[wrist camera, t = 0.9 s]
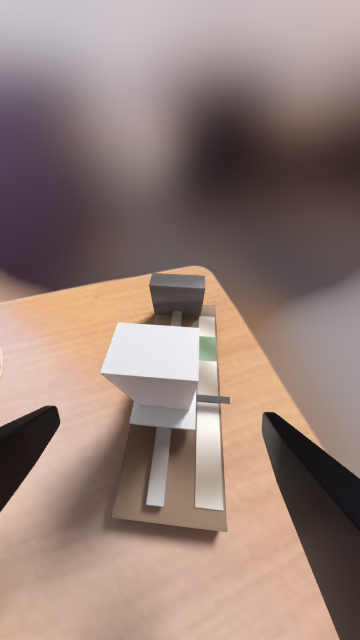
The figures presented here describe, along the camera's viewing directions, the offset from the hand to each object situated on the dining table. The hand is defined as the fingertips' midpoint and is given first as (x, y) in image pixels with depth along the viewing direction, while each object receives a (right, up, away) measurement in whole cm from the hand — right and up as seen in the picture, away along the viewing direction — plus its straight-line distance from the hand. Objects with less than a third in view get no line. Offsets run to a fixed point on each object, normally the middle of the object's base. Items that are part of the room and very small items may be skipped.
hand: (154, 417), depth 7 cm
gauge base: (+1, -3, +11) cm, 12 cm away
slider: (+2, -3, +8) cm, 9 cm away
